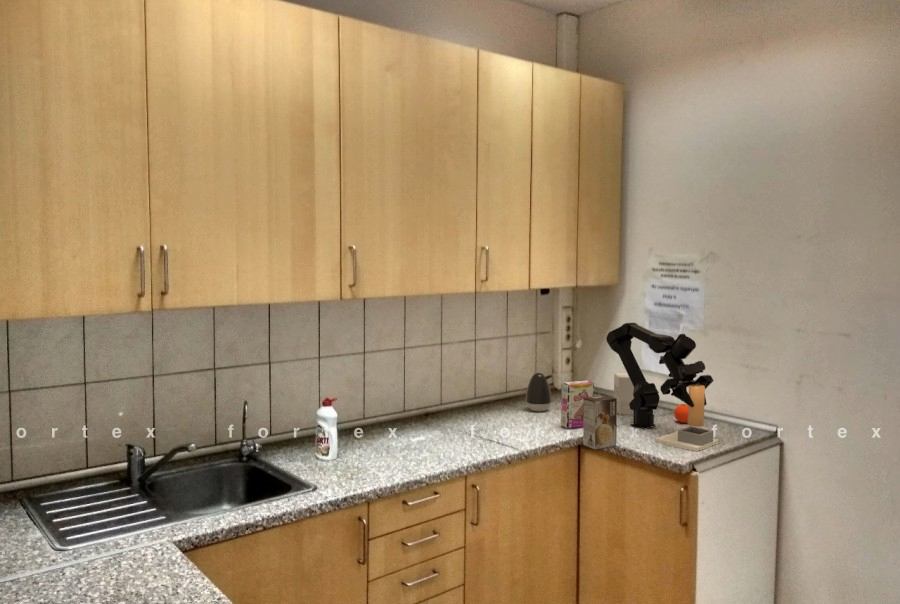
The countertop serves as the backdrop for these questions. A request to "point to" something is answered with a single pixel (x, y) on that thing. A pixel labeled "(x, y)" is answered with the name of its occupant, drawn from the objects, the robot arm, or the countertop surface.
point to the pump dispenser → (538, 393)
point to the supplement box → (623, 393)
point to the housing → (689, 438)
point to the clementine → (681, 413)
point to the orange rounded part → (696, 405)
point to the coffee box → (600, 421)
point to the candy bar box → (574, 403)
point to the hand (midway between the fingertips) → (699, 405)
